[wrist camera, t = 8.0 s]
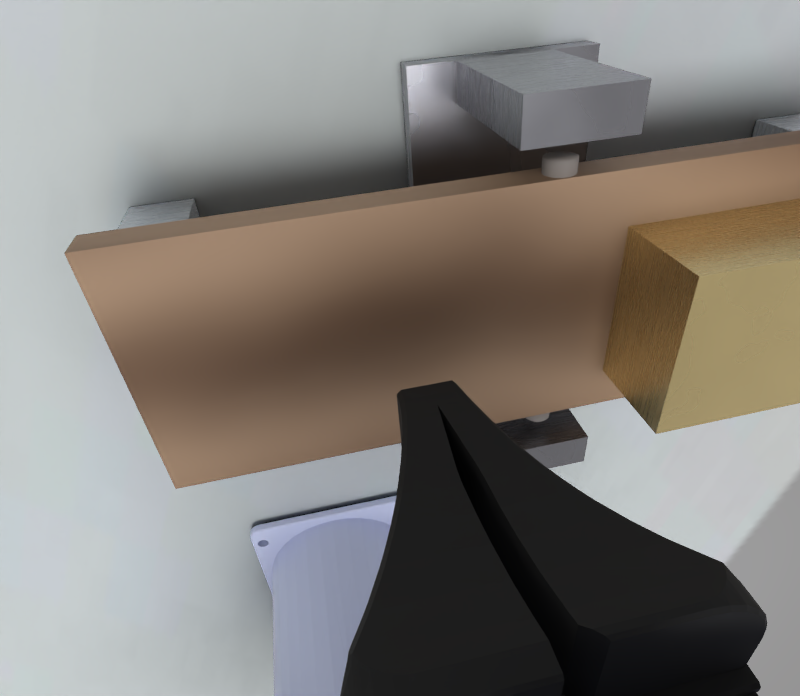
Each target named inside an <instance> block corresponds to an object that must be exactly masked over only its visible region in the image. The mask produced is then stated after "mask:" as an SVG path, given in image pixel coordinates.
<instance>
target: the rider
mask: <svg viewBox="0 0 800 696" xmlns="http://www.w3.org/2000/svg"><path fill="white" fill-rule="evenodd" d="M603 372H604V373H605V374H606V375H607V376H608V378H609V379H610V380H611V381H612V382H613V383H614V385H615V386H616V387H617V388H618V389H619V391H620V392H621V393H622V394H623V395H624V397H625V398H626V399H627V400H628V401H629V402H630V404H631V405H632V406H633V407H634V408H635V410H636V411H637V412H638V413H639V414H640V416H641V417H642V418H643V419H644V420H645V421H646V423H647V424H648V425H649V426H650V427H651V429H652V430H653V431H654V432H655V433H656V434H657V433H662V432H667V431H671V430H676V429H681V428H685V427H690V426H695V425H699V424H704V423H709V422H713V421H718V420H723V419H727V418H732V417H737V416H741V415H746V414H750V413H755V412H760V411H764V410H769V409H774V408H778V407H783V406H788V405H792V404H797V403H800V199H793V200H787V201H781V202H775V203H769V204H763V205H757V206H750V207H744V208H738V209H732V210H726V211H720V212H713V213H707V214H701V215H695V216H689V217H683V218H677V219H670V220H664V221H658V222H652V223H646V224H640V225H634V226H629V227H628V233H627V238H626V244H625V250H624V255H623V261H622V266H621V272H620V277H619V283H618V288H617V294H616V299H615V305H614V310H613V316H612V321H611V327H610V332H609V338H608V343H607V349H606V354H605V360H604V365H603Z"/></svg>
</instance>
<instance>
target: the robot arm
mask: <svg viewBox="0 0 800 696" xmlns="http://www.w3.org/2000/svg"><path fill="white" fill-rule="evenodd" d="M397 404H398V414H399V424H400V435H401V445H402V453H401V465H400V473H399V482H398V489H397V495H396V496H392V497H387V498H383V499H378V500H373V501H369V502H364V503H359V504H354V505H350V506H345V507H340V508H335V509H331V510H326V511H321V512H317V513H312V514H307V515H302V516H298V517H293V518H288V519H283V520H279V521H274V522H269V523H265V524H260V525H257V526H254V527H253V528H252V529H251V531H250V539H251V541H252V544H253V547H254V549H255V552H256V554H257V557H258V560H259V562H260V565H261V568H262V570H263V573H264V575H265V578H266V581H267V583H268V586H269V588H270V591H271V594H272V596H273V655H274V696H758V695H757V693H756V692H758V691H759V690H760V688H761V687H760V683H759V681H758V679H757V678H756V677H755V675H754V674H753V672H752V671H751V669H750V668H749V667H748V665H747V662H748V661H749V659H750V657H751V656H752V654H753V653H754V651H755V649H756V648H757V646H758V644H759V643H760V641H761V639H762V638H763V635H764V633H765V630H766V626H767V620H766V614H765V613H764V612H763V610H762V609H761V608H760V606H759V605H758V604H757V603H756V601H755V600H754V599H753V597H752V596H751V595H750V593H749V592H748V591H747V590H746V588H745V587H744V586H743V585H742V583H741V582H740V581H739V580H738V579H737V578H736V577H735V576H734V575H733V574H732V573H731V571H730V570H729V569H728V568H727V567H726V566H725V565H724V563H722V562H720V561H718V560H715V559H713V558H711V557H708V556H706V555H703V554H701V553H699V552H696V551H694V550H692V549H689V548H687V547H685V546H682V545H680V544H678V543H675V542H673V541H671V540H669V539H666V538H664V537H662V536H660V535H658V534H656V533H654V532H652V531H650V530H648V529H646V528H644V527H642V526H640V525H638V524H636V523H634V522H632V521H630V520H629V519H627V518H625V517H623V516H622V515H620V514H618V513H616V512H614V511H613V510H611V509H609V508H607V507H606V506H604V505H602V504H600V503H599V502H597V501H595V500H593V499H592V498H590V497H589V496H587V495H586V494H584V493H583V492H581V491H580V490H578V489H576V488H575V487H573V486H572V485H571V484H569V483H568V482H566V481H565V480H563V479H562V478H560V477H559V476H558V475H556V474H555V473H553V472H552V471H551V470H549V469H548V468H547V467H545V466H544V465H543V464H542V463H540V462H539V461H538V460H537V459H535V458H534V457H533V456H532V455H530V454H529V453H528V452H527V451H525V450H524V449H523V448H522V447H521V446H520V445H518V444H517V443H516V442H515V441H514V440H513V439H511V438H510V437H509V436H508V435H507V434H506V433H505V432H504V431H503V430H502V429H501V428H499V427H498V426H497V425H496V424H495V423H494V422H493V421H492V420H491V419H490V418H489V417H488V416H487V415H486V414H485V413H484V412H483V411H482V410H481V409H480V408H479V407H478V406H477V405H476V404H475V403H474V402H473V401H472V400H471V399H470V398H469V397H468V396H467V395H466V394H465V392H464V391H463V390H462V389H461V388H460V387H459V386H458V385H457V384H456V383H455V382H454V381H452V380H451V381H445V382H440V383H435V384H429V385H424V386H419V387H413V388H408V389H403V390H400V391H399V392H398V394H397Z"/></svg>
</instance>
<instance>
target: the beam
mask: <svg viewBox="0 0 800 696" xmlns="http://www.w3.org/2000/svg"><path fill="white" fill-rule="evenodd" d="M793 199H800V130H798V131H791V132H784V133H777V134H770V135H764V136H757V137H750V138H743V139H736V140H729V141H722V142H715V143H709V144H702V145H695V146H688V147H681V148H674V149H667V150H660V151H654V152H647V153H640V154H633V155H626V156H619V157H612V158H605V159H599V160H592V161H585V162H579V155H578V154H576V153H573V152H568V151H554V152H549V153H546V154H544V155H543V157H542V168H537V169H530V170H523V171H516V172H509V173H502V174H495V175H488V176H482V177H475V178H468V179H461V180H454V181H447V182H440V183H433V184H427V185H420V186H413V187H406V188H399V189H392V190H385V191H378V192H372V193H365V194H358V195H351V196H344V197H337V198H330V199H323V200H317V201H310V202H303V203H296V204H289V205H282V206H275V207H268V208H262V209H255V210H248V211H241V212H234V213H227V214H220V215H213V216H207V217H200V218H193V219H186V220H179V221H172V222H165V223H158V224H151V225H145V226H138V227H131V228H124V229H117V230H110V231H103V232H96V233H90V234H83V235H76V237H75V238H74V240H73V241H72V243H71V244H70V246H69V247H68V249H67V250H66V252H65V256H66V258H67V260H68V262H69V264H70V266H71V268H72V270H73V272H74V275H75V277H76V279H77V281H78V283H79V285H80V287H81V289H82V291H83V294H84V296H85V298H86V300H87V302H88V304H89V306H90V308H91V310H92V313H93V315H94V317H95V319H96V321H97V323H98V325H99V327H100V330H101V332H102V334H103V336H104V338H105V340H106V342H107V344H108V346H109V349H110V351H111V353H112V355H113V357H114V359H115V361H116V363H117V365H118V368H119V370H120V372H121V374H122V376H123V378H124V380H125V382H126V384H127V387H128V389H129V391H130V393H131V395H132V397H133V399H134V401H135V403H136V406H137V408H138V410H139V412H140V414H141V416H142V418H143V420H144V423H145V425H146V427H147V429H148V431H149V433H150V435H151V437H152V439H153V442H154V444H155V446H156V448H157V450H158V452H159V454H160V456H161V458H162V461H163V463H164V465H165V467H166V469H167V471H168V473H169V475H170V477H171V480H172V482H173V484H174V486H175V488H176V489H177V488H182V487H187V486H192V485H197V484H202V483H207V482H211V481H216V480H221V479H226V478H231V477H236V476H241V475H246V474H251V473H256V472H260V471H265V470H270V469H275V468H280V467H285V466H290V465H295V464H300V463H305V462H309V461H314V460H319V459H324V458H329V457H334V456H339V455H344V454H349V453H354V452H358V451H363V450H368V449H373V448H378V447H383V446H388V445H393V444H398V443H401V435H400V424H399V414H398V404H397V394H398V392H399V391H400V390H403V389H408V388H413V387H419V386H424V385H429V384H435V383H440V382H445V381H451V380H452V381H454V382H455V383H456V384H457V385H458V386H459V387H460V388H461V389H462V390H463V391H464V392H465V394H466V395H467V396H468V397H469V398H470V399H471V400H472V401H473V402H474V403H475V404H476V405H477V406H478V407H479V408H480V409H481V410H482V411H483V412H484V413H485V414H486V415H487V416H488V417H489V418H490V419H491V420H492V421H493V422H494V423H495V424H496V423H501V422H505V421H510V420H515V419H520V418H527V419H528V420H530V421H534V422H542V421H545V420H546V419H547V418H548V417H549V413H550V412H554V411H559V410H564V409H569V408H574V407H579V406H584V405H589V404H594V403H599V402H603V401H608V400H613V399H618V398H623V397H624V395H623V394H622V393H621V392H620V391H619V389H618V388H617V387H616V386H615V385H614V383H613V382H612V381H611V380H610V379H609V378H608V376H607V375H606V374H605V373H604V372H603V365H604V360H605V354H606V349H607V343H608V338H609V332H610V327H611V321H612V316H613V310H614V305H615V299H616V294H617V288H618V283H619V277H620V272H621V266H622V261H623V255H624V250H625V244H626V238H627V233H628V227H629V226H634V225H640V224H646V223H652V222H658V221H664V220H670V219H677V218H683V217H689V216H695V215H701V214H707V213H713V212H720V211H726V210H732V209H738V208H744V207H750V206H757V205H763V204H769V203H775V202H781V201H787V200H793Z"/></svg>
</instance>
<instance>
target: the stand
mask: <svg viewBox="0 0 800 696" xmlns="http://www.w3.org/2000/svg"><path fill="white" fill-rule="evenodd" d="M599 46H600V44H599V43H594V42H590V41H581V42H573V43H564V44H555V45H547V46H538V47H529V48H521V49H512V50H503V51H495V52H486V53H477V54H469V55H460V56H451V57H443V58H434V59H425V60H417V61H408V62H401V75H402V90H403V106H404V121H405V136H406V152H407V167H408V182H409V187H413V186H420V185H427V184H433V183H440V182H447V181H454V180H461V179H468V178H475V177H482V176H488V175H495V174H502V173H509V172H516V171H523V170H530V169H537V168H542V157H543V155H544V154H546V153H549V152H554V151H568V152H573V153H576V154H578V155H579V162H585V160H586V152H587V144H588V142H589V141H596V140H604V139H611V138H618V137H625V136H632V135H640V134H642V129H643V123H644V117H645V112H646V106H647V100H648V95H649V89H650V83H651V78H648V77H644V76H641V75H638V74H634V73H631V72H628V71H624V70H621V69H618V68H614V67H611V66H608V65H604V64H601V63H598V55H599ZM798 130H800V114H795V115H788V116H781V117H774V118H767V119H760V120H756V124H755V127H754V131H753V134H752V137H757V136H764V135H770V134H777V133H784V132H791V131H798ZM193 218H200V216H199V213H198V210H197V206H196V203H195V200H194V198H193V199H185V200H178V201H171V202H164V203H157V204H149V205H142V206H135V207H129V209H128V211H127V212H126V214H125V216H124V218H123V220H122V221H121V223H120V225H119V227H118V229H124V228H131V227H138V226H145V225H151V224H158V223H165V222H172V221H179V220H186V219H193ZM496 425H497V426H498V427H499V428H501V429H502V430H503V431H504V432H505V433H506V434H507V435H508V436H509V437H510V438H511V439H513V440H514V441H515V442H516V443H517V444H518V445H520V446H521V447H522V448H523V449H524V450H525V451H527V452H528V453H529V454H530V455H532V456H533V457H534V458H535V459H537V460H538V461H539V462H540V463H542V464H543V465H544V466H545V467H547V468H553V467H557V466H562V465H567V464H571V463H576V462H581V461H584V456H585V450H586V445H587V439H588V436H587V435H586V433H585V432H584V430H583V429H582V427H581V426H580V424H579V423H578V422H577V420H576V419H575V417H574V416H573V414H572V413H571V411H570V410H569V409H564V410H559V411H554V412H550V413H549V417H548V418H547V419H546V420H545V421H542V422H534V421H530V420H528V419H527V418H520V419H515V420H510V421H505V422H501V423H496Z"/></svg>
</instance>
